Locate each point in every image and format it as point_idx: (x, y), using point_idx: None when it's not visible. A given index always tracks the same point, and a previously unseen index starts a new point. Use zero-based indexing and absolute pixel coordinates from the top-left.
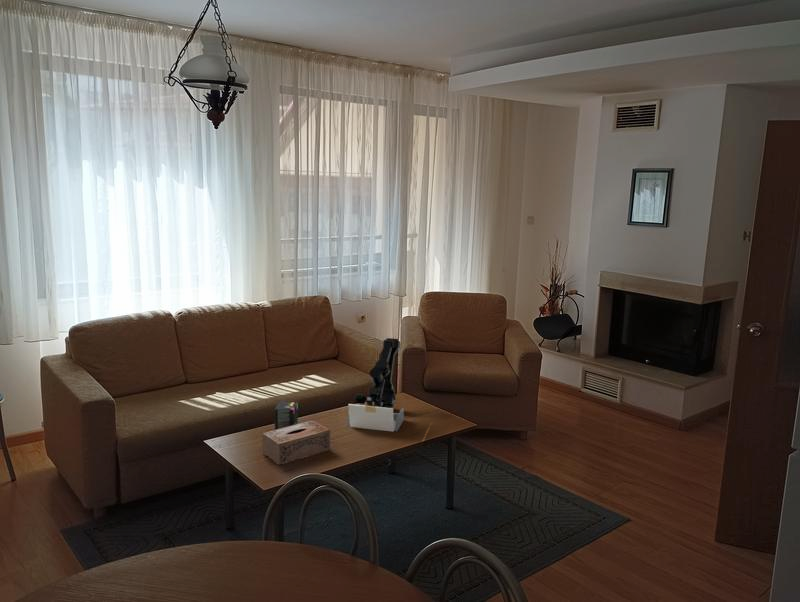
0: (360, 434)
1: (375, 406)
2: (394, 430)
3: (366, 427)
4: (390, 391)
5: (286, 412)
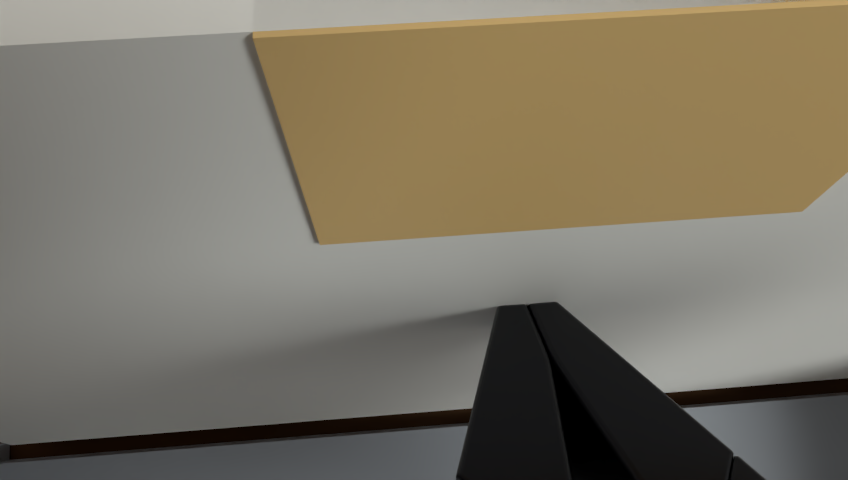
0: None
1: (287, 37)
2: (8, 470)
3: None
4: None
5: None
